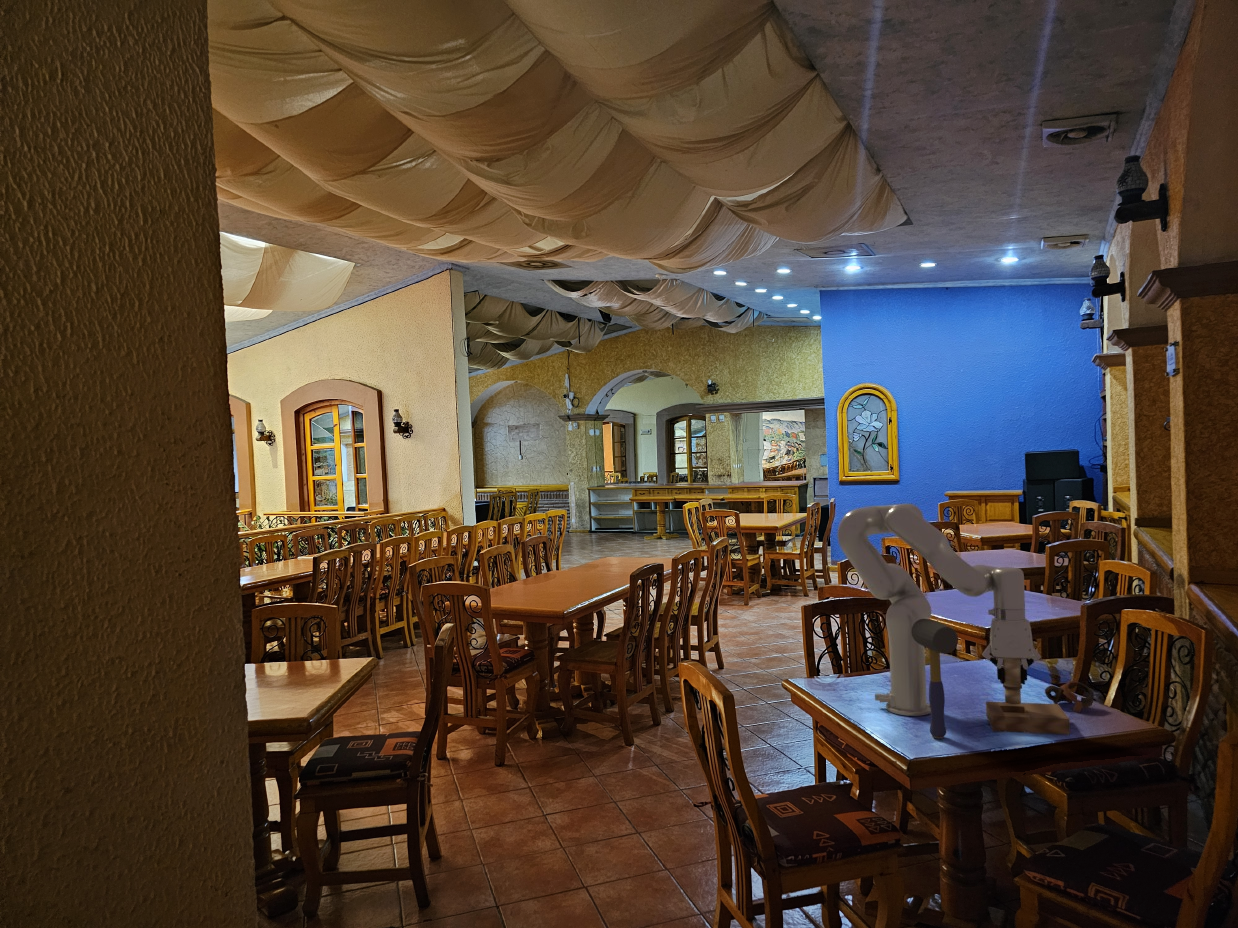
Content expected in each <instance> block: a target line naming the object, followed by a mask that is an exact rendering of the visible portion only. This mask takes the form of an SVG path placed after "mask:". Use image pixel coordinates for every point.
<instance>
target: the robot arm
mask: <svg viewBox="0 0 1238 928" xmlns="http://www.w3.org/2000/svg"><path fill="white" fill-rule="evenodd" d="M879 534H881V535H883V534H893V535H895V536H896V537H897V538H898V539H900V540H901V541H902V542H903V543H905V544H907V546H909V547H910V548H911V549H912V550H914V552H916V553H917V554H919V555H920V556H922V557H923V558H924V559H925V561H926V562H927V563H928V564H929V566H930V567H932V570H934V571H935V572H936V573H937V575H939V576H940V577H941V578H942V579H943V580H944V581H945V582H946V583H948V584H949V585H951V586H952V587H954V589H956V591H959V592H960V593H961V594H963V595H965V596H967V597H970V598H971V597H974V598H977V597H980V596H982V595H984V594H985V593H989V592H993V608H992V609H988V611H987V614H988V615H989V616H990V615H991V616H993V617H992V618H991V623H990V630H989V644H988V645H987V646H986V648H985V649H984V651H983V652H982V654H981V655H982V657H984V659H986V660H988V661H989V662H991V664H993V665H994V667H996V675H997V676H996V678H997V680H999V682H1000V684H1001V685H1003V684H1004V669H1003V658H1011V659H1021V683H1022V685H1026V681H1028V669H1029V667H1030V666H1032V665H1033V664H1034V663H1035V662H1037V661H1039V660H1040V659H1041V658H1042V656H1041V654H1040V653H1039V652H1038V650H1037V649H1036V648H1035V647H1034V644H1033V634H1032V627H1031V623H1030V620H1029V619H1027V618H1026V600H1025V599H1026V597H1025V576H1024V571H1023V570H1022V569H1021V568H1018V567H1013V566H1012V567H1011V566H1003V567H999V566H998V567H996V566H990V565H984V564H975V565H970V564H969V563H968V562H967V561H965V560H964V559H963V558H962V557H960V556H959V555H958V554H957V553H956V552H955V551H954V550H953V548H952V547H951V545H950V543H949V540H948V537H947V536H946V535H945V533H943V532H942V531H940V530H939V529H938V528H937V527H935V526H934V525H932V524H931V523H930V522H929V521H927V520H926V519H925V518H924V514H923V512H922V510H921V509H920V508H919V507H918V506H917V505H915V504H913V503H900V504H899V503H898V504H889V505H888V504H887V505H873V506H872V505H871V506H870V505H869V506H865V507H858V508H855V509H852V510H849V511H848V512H847V513H846V514H845V515H844V516H843V517H842V519H841V520H840V522H839V525H838V528H837V540H838V541H837V542H838V545H839V547H840V549H841V551H842V553H843V554H844V555H845V557H846V558H847V560H848V561H849V562H850V564H851V565H852V567H853V568H854V569H855V571H856V573H857V574H858V576H859V577H860V579H861V580H862V581H863V583H864V585H865V587H866V588H867V589H868V590H869V592H870V594H872V596H873V597H874V598H876V599H878V600H889V601H890V603H891V604H890V605H889V607H888V609H887V611H886V614H885V624H886V630H887V636H888V648H889V668H890V669H889V670H890V671H889V672H890V690H889V692H886V693H883V694H882V693H874V700H875V702H876V701H877V702H879V703H886V704H885V708H886V711H889V712H890V713H892V714H895V715H898V716H899V715H900V716H908V717H909V716H911V717H918V716H920V717H921V716H926V715H931V709H930V703H929V702H927V678H926V677H927V676H926V655H925V654H926V653H925V647H924V646H922V645H920V644H919V643H917V642H916V641H915V640H914V639H913V637H912V633H911V631H912V627H913V624H914V623H915V622H916V621H918V620H919V619H930V620H931V618H932V617H931V616H932V607H931V604H930V602H929V600H928V599H927V597H926V596H925V594H924V593H923V592H922V590H921V588H920V587H919V586H918V584H917V583H916V582H915V580H914V579H913V578H912V576H911V575H910V573H909V572H908V571H907V570H906V569H905V568H904V567H902V566H900V565H899V564H896V563H892V562H891V563H888V562H887V561H886V560H885V559H884V557H883V555H882V554H881V553H880V551H879V550H878V549H877V548H876V546H874V544H873V543H871V541H870V540H869V537H870V536H873V535H879ZM990 654H991V655H990Z"/></svg>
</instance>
